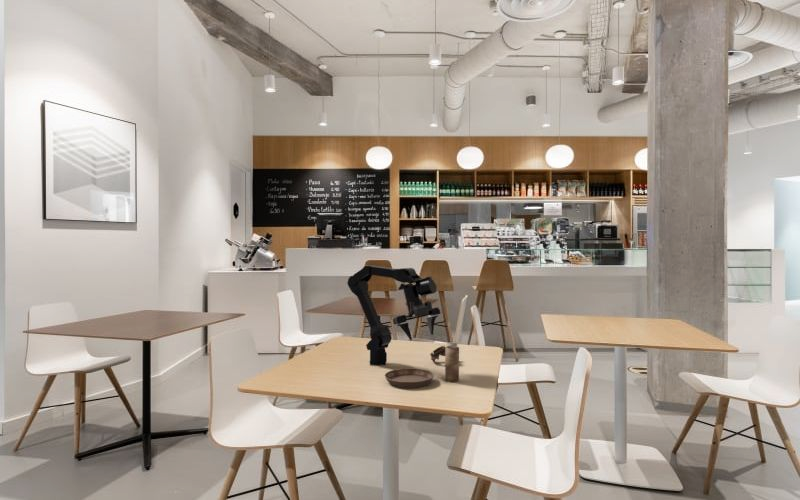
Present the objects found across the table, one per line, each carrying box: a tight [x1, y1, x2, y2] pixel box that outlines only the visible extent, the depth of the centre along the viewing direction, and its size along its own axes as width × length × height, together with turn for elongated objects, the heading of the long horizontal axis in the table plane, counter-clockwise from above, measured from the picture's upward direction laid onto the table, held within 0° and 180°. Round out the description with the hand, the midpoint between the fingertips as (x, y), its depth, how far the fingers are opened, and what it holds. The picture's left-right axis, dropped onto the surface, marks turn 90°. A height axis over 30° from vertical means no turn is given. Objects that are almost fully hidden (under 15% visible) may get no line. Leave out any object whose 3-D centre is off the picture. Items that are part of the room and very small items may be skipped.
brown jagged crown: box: [429, 345, 446, 363], centre depth 202 cm, size 12×10×8 cm
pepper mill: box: [444, 342, 460, 383], centre depth 175 cm, size 5×5×14 cm
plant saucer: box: [384, 368, 434, 389], centre depth 173 cm, size 18×18×3 cm
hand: (421, 337), depth 189 cm, fingers open, 9 cm apart
